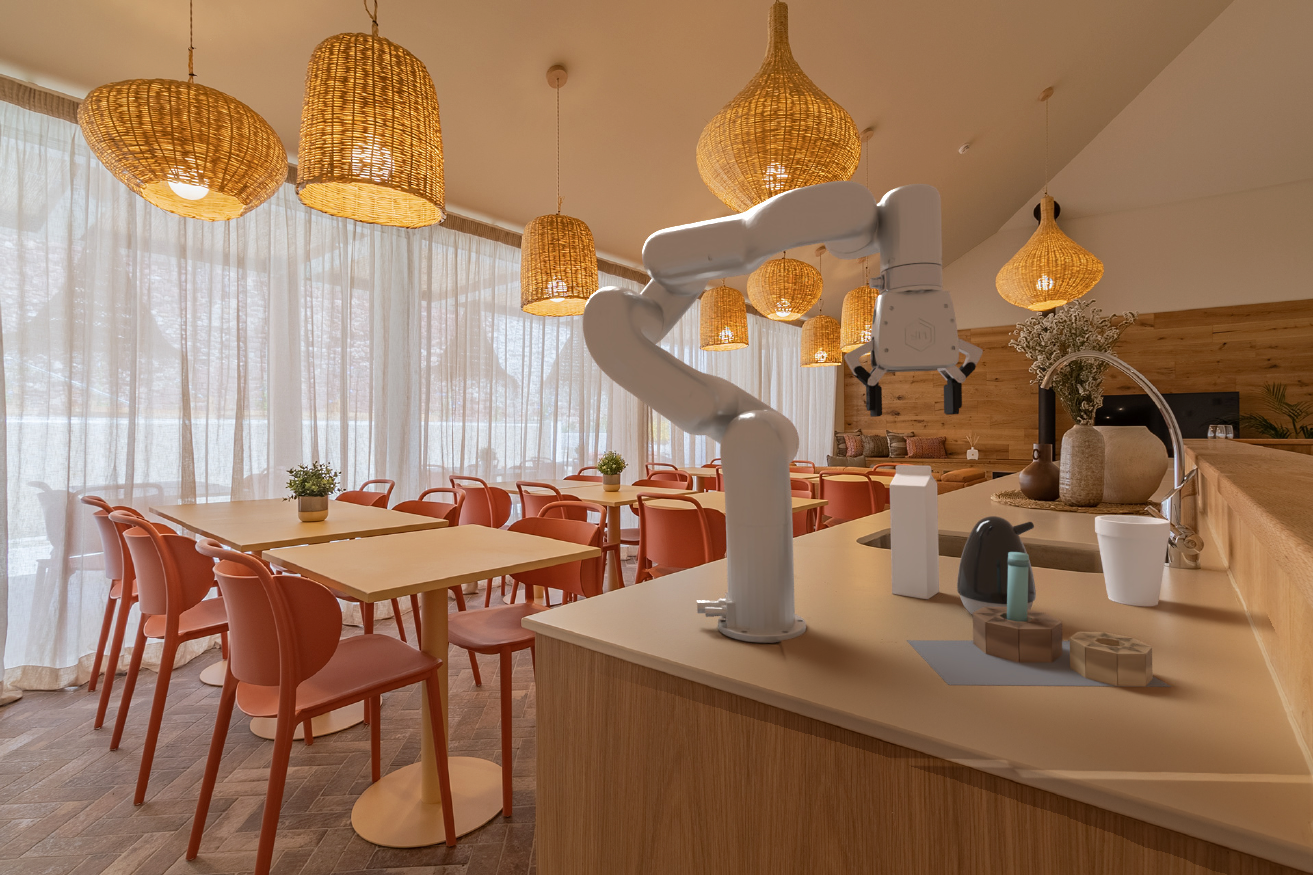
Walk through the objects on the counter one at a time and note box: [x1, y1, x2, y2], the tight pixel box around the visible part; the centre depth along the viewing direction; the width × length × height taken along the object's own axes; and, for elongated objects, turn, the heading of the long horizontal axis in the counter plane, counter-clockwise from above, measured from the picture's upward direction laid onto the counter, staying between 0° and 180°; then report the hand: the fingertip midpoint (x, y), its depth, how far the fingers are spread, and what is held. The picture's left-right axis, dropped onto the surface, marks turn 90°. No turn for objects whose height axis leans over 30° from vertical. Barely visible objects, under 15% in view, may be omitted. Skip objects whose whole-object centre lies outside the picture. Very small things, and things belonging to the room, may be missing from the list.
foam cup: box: [1094, 514, 1171, 607], centre depth 97 cm, size 10×9×13 cm
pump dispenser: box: [956, 515, 1037, 616], centre depth 90 cm, size 10×10×15 cm
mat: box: [906, 639, 1172, 688], centre depth 73 cm, size 23×14×1 cm, turn 85°
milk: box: [889, 464, 940, 600], centre depth 105 cm, size 6×6×22 cm
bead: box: [972, 607, 1063, 663], centre depth 77 cm, size 9×9×4 cm
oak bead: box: [1069, 631, 1154, 687], centre depth 69 cm, size 7×7×4 cm
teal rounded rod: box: [1007, 552, 1030, 622], centre depth 77 cm, size 2×2×12 cm
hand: (913, 415), depth 80 cm, fingers open, 9 cm apart
